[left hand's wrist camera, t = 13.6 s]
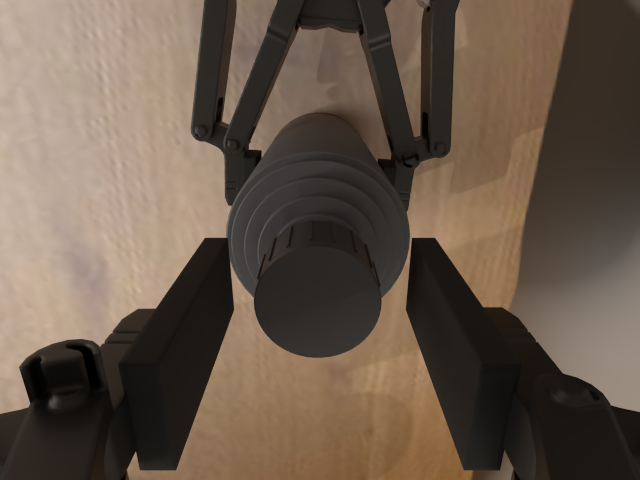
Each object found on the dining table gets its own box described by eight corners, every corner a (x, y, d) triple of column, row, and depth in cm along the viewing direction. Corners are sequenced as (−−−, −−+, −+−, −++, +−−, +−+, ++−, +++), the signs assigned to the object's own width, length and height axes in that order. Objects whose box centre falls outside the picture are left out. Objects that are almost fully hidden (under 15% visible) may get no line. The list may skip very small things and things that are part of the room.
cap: (364, 207, 14) (372, 232, 12) (381, 309, 16) (392, 348, 13) (250, 229, 14) (237, 257, 12) (277, 327, 16) (270, 368, 14)
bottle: (358, 103, 31) (426, 154, 12) (374, 200, 34) (450, 376, 14) (258, 124, 32) (161, 206, 12) (281, 218, 34) (232, 411, 15)
